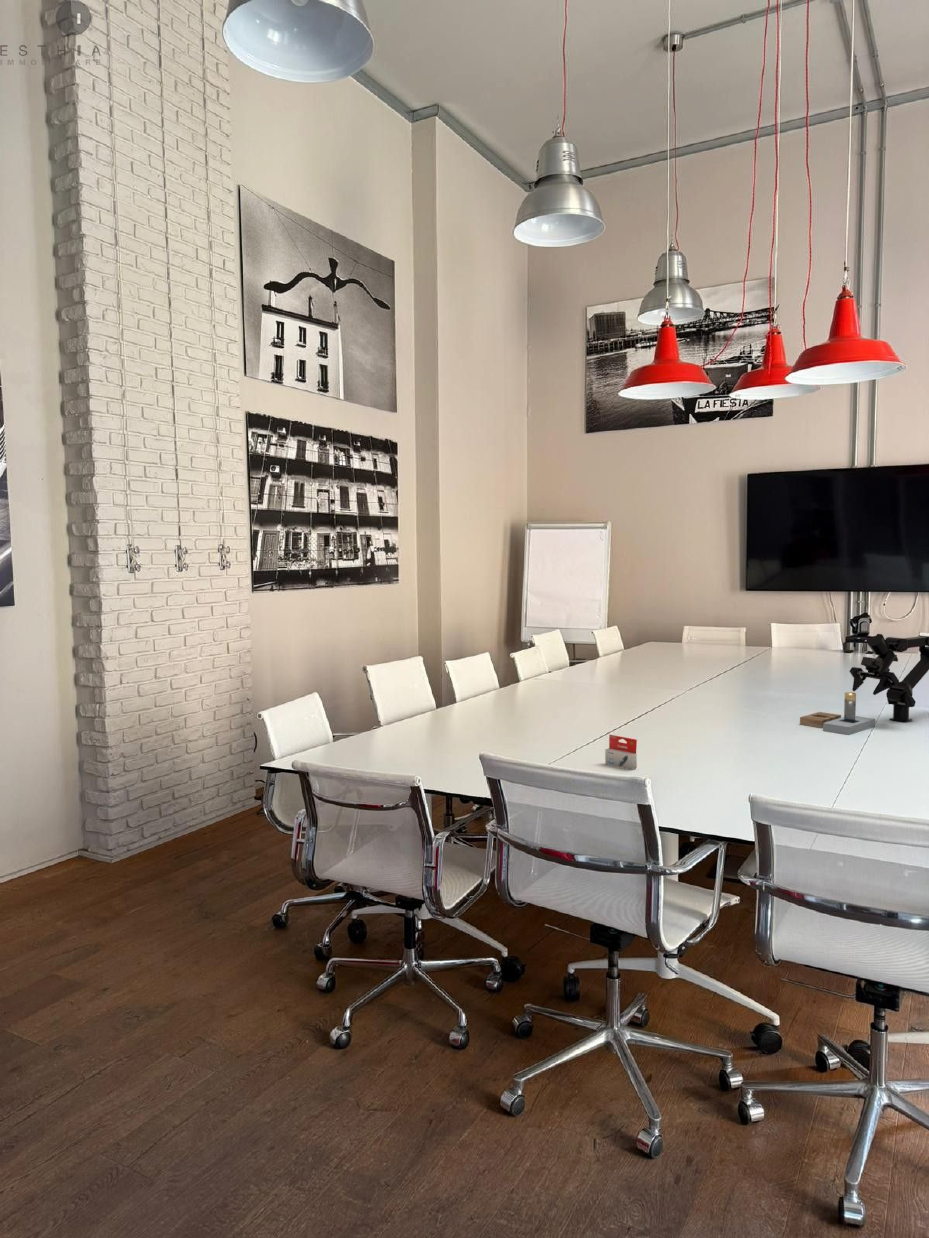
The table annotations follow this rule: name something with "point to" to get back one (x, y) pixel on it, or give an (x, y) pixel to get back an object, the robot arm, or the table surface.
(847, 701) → the gold capped metal post
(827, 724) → the board
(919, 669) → the robot arm
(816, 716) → the socket block
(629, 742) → the ink cartridge box
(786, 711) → the table surface
